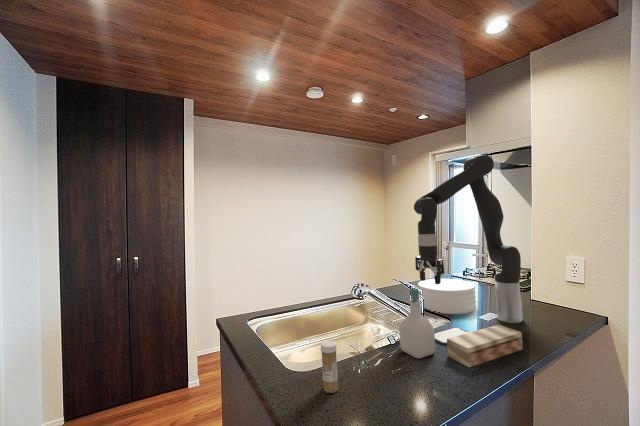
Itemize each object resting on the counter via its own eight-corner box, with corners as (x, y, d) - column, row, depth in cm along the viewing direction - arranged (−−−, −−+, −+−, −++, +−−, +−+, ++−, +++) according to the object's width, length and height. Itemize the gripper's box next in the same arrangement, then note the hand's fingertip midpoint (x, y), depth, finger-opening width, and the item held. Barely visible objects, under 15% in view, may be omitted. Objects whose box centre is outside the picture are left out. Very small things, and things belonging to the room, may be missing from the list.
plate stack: (410, 308, 154) (409, 286, 154) (430, 295, 175) (428, 276, 175) (468, 317, 136) (466, 293, 136) (482, 302, 157) (480, 281, 157)
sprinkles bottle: (319, 391, 84) (317, 344, 84) (329, 383, 87) (327, 338, 88) (332, 396, 81) (329, 348, 81) (341, 388, 84) (339, 342, 85)
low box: (499, 340, 110) (498, 324, 110) (522, 349, 102) (521, 332, 102) (447, 356, 100) (446, 338, 100) (469, 367, 92) (467, 348, 92)
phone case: (444, 347, 108) (475, 338, 114) (444, 343, 108) (474, 333, 114) (427, 339, 116) (456, 330, 122) (426, 335, 116) (456, 326, 122)
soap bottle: (418, 361, 97) (414, 293, 98) (398, 351, 106) (394, 288, 106) (438, 354, 102) (434, 289, 102) (417, 344, 110) (413, 284, 111)
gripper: (447, 244, 120) (449, 284, 119) (422, 242, 133) (424, 278, 132) (433, 246, 117) (436, 286, 116) (409, 244, 130) (411, 280, 129)
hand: (430, 282), depth 124 cm, fingers open, 8 cm apart
